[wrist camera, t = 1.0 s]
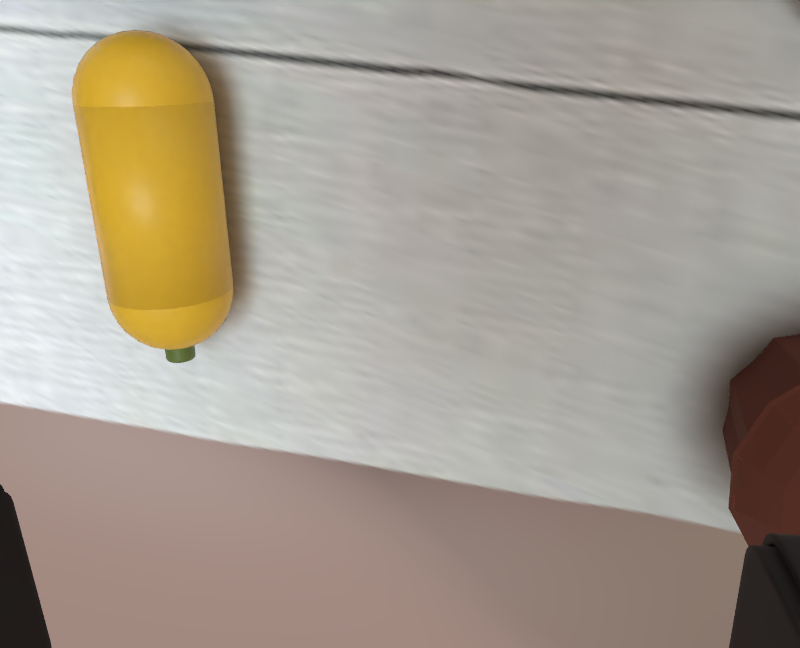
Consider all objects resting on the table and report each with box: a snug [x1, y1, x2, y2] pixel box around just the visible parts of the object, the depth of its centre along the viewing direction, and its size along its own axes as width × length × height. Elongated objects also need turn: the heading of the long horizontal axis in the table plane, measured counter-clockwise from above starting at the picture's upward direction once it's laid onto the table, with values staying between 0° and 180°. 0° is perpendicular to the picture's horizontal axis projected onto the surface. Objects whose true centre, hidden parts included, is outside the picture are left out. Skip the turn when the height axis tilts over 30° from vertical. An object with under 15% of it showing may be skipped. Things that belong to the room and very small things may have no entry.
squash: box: [72, 30, 233, 363], centre depth 32 cm, size 15×6×6 cm, turn 1°
